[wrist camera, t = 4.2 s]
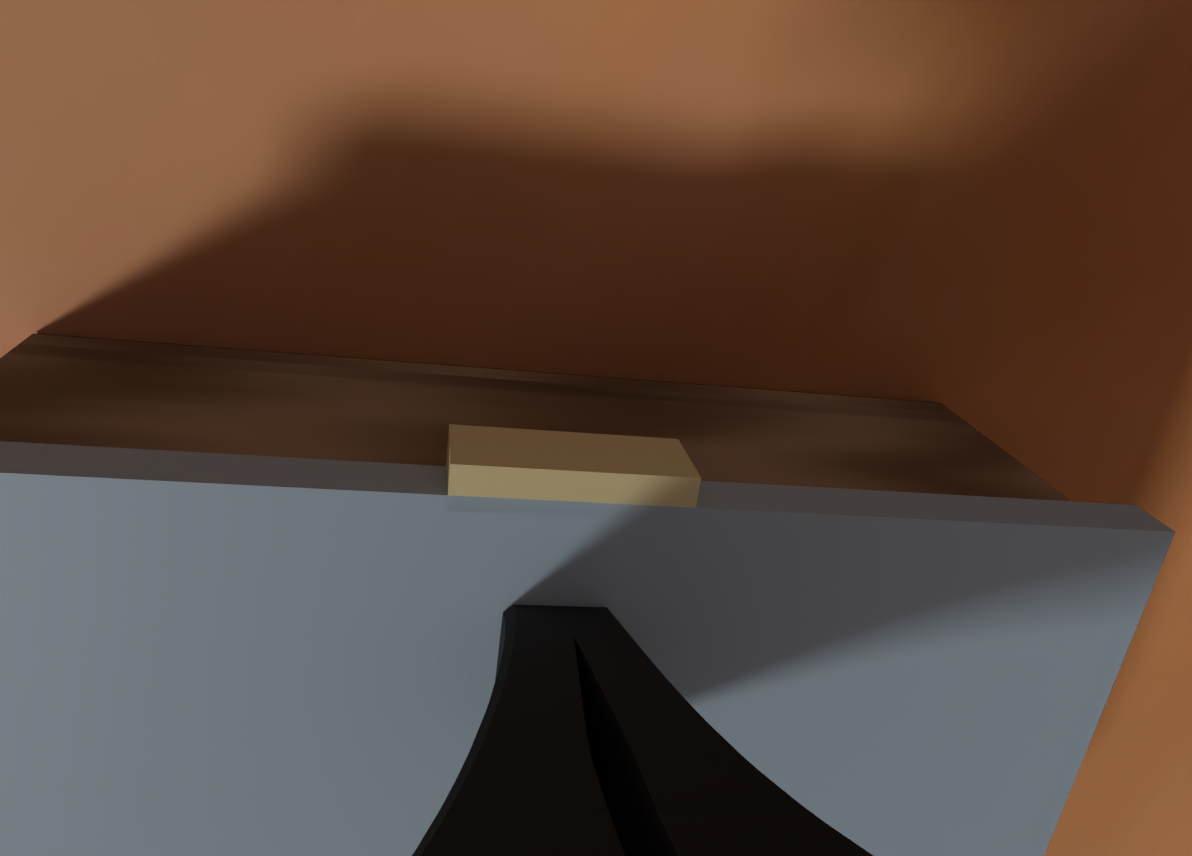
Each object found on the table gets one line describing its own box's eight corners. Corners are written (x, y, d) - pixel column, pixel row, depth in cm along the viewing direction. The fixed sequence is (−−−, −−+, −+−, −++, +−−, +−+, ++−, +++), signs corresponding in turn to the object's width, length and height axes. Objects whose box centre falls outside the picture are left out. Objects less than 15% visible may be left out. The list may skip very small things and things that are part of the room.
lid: (1126, 467, 14) (1185, 505, 13) (905, 1060, 18) (935, 1125, 17) (-163, 384, 11) (-231, 425, 9) (-35, 1126, 15) (-72, 1211, 14)
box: (940, 403, 18) (1108, 528, 14) (806, 868, 23) (899, 1080, 18) (33, 333, 15) (-142, 466, 11) (83, 886, 20) (-24, 1148, 15)
